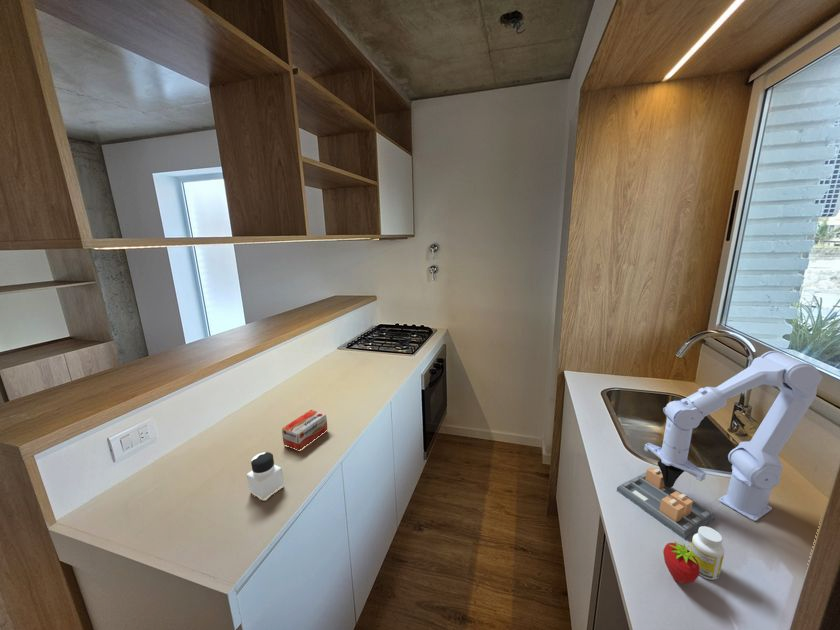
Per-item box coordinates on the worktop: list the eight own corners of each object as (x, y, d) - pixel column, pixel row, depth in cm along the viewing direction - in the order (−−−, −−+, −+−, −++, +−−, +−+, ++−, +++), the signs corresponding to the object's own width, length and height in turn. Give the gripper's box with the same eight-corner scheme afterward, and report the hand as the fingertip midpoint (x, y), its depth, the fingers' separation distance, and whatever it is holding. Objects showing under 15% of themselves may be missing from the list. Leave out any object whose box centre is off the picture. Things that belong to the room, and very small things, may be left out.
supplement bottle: (704, 556, 78) (711, 522, 76) (725, 580, 73) (734, 544, 71) (681, 558, 78) (688, 524, 76) (701, 581, 73) (709, 545, 70)
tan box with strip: (673, 503, 92) (676, 489, 90) (690, 513, 88) (693, 499, 87) (668, 506, 90) (670, 492, 89) (684, 517, 87) (687, 502, 86)
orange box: (665, 508, 90) (667, 494, 89) (681, 519, 86) (684, 504, 85) (659, 511, 89) (661, 497, 88) (675, 523, 85) (678, 508, 84)
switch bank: (644, 476, 104) (645, 470, 103) (713, 520, 88) (715, 513, 87) (616, 490, 98) (617, 484, 98) (684, 539, 83) (686, 532, 82)
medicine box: (299, 453, 119) (296, 434, 118) (283, 447, 123) (280, 428, 121) (328, 431, 133) (326, 413, 131) (313, 426, 136) (311, 408, 134)
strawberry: (683, 566, 76) (690, 531, 74) (702, 601, 69) (711, 563, 67) (654, 561, 77) (660, 526, 75) (669, 595, 70) (677, 557, 68)
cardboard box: (650, 478, 101) (652, 465, 100) (664, 486, 97) (666, 473, 96) (644, 480, 100) (647, 467, 99) (658, 489, 96) (661, 476, 95)
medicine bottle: (284, 487, 103) (279, 453, 101) (264, 503, 98) (258, 467, 95) (270, 479, 107) (265, 446, 104) (249, 494, 101) (243, 459, 98)
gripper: (640, 434, 96) (634, 474, 100) (698, 464, 84) (689, 508, 87) (655, 427, 99) (649, 466, 103) (713, 455, 86) (704, 499, 90)
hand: (668, 485), depth 95 cm, fingers closed
